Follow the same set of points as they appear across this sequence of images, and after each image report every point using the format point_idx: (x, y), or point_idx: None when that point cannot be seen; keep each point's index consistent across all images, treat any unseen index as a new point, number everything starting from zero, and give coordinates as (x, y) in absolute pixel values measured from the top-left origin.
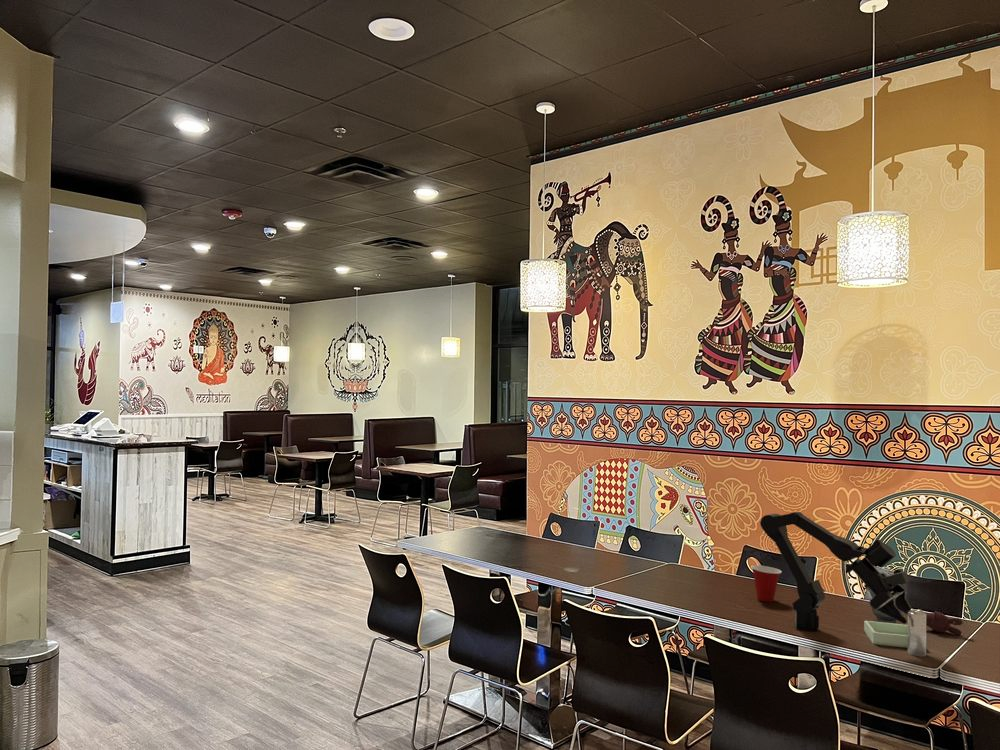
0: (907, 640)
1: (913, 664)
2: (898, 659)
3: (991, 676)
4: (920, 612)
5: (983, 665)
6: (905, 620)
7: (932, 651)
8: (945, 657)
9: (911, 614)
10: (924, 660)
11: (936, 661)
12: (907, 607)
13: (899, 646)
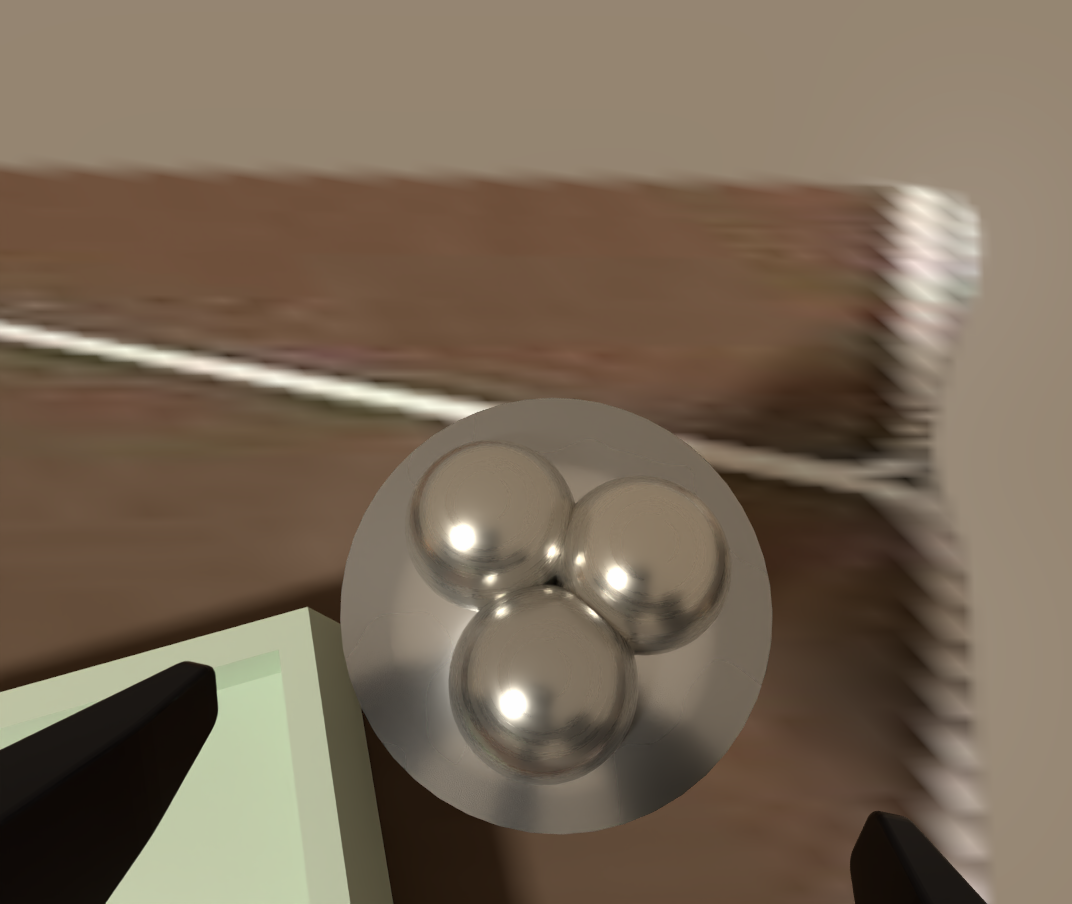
0: (351, 786)
1: (960, 689)
2: None
3: (778, 182)
4: (676, 488)
5: (537, 215)
6: (935, 852)
7: None
8: None
9: (744, 719)
10: None
11: None
12: (6, 875)
13: (388, 874)
